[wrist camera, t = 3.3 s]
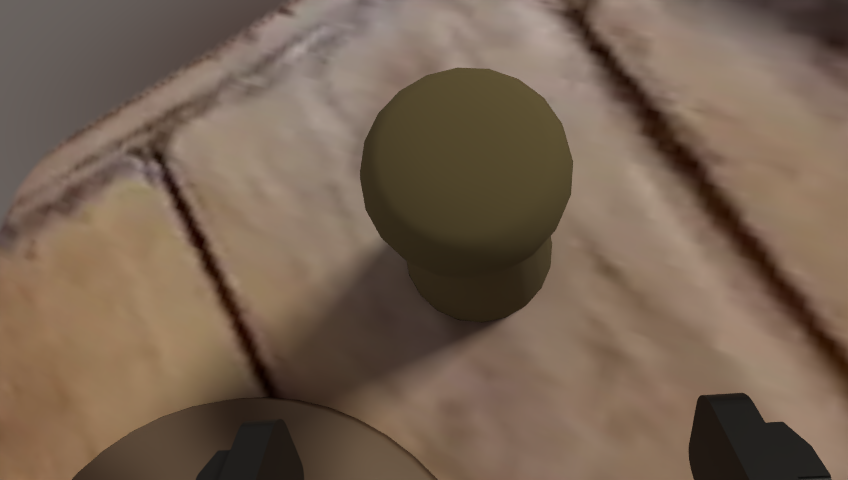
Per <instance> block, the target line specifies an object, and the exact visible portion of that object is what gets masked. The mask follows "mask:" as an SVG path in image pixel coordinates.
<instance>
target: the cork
mask: <svg viewBox="0 0 848 480" xmlns="http://www.w3.org/2000/svg"><path fill="white" fill-rule="evenodd" d="M572 170H573V160H572V156H571V153H570V149H569V146H568V142H567V139H566V135H565V132H564V128H563V126H562V123H561V122H560V120H559V119H558V117H557V116H556V114H555V113H554V112H553V110H552V109H551V107H550V106H549V104H548V103H547V102H546V100H545V99H544V98H543V97H542V96H541V95H539V94H538V93H537V92H535V91H534V90H533V89H531V88H530V87H529V86H527V85H526V84H524V83H523V82H522V81H520V80H519V79H517V78H514V77H511V76H508V75H505V74H502V73H499V72H496V71H493V70H490V69H476V68H454V69H450V70H446V71H442V72H438V73H434V74H430V75H427V76H425V77H423V78H421V79H420V80H418V81H416V82H414V83H413V84H411V85H409V86H408V87H406V88H404V89H402V90H401V91H399V92H398V93H397V94H396V95H395V96H394V98H393V99H392V100H391V101H390V102H389V103H388V104H387V105H386V106H385V107H384V108H383V109H382V110H381V111H380V112H379V113H378V115H377V117H376V119H375V121H374V123H373V125H372V127H371V129H370V131H369V133H368V135H367V137H366V139H365V142H364V149H363V156H362V162H361V169H360V180H361V186H362V191H363V197H364V203H365V208H366V211H367V213H368V215H369V216H370V218H371V220H372V222H373V224H374V225H375V227H376V229H377V231H378V233H379V234H380V236H381V238H382V239H383V240H384V241H385V242H386V243H388V244H389V245H390V246H391V247H392V248H393V249H394V250H395V251H396V252H398V253H399V254H400V255H401V256H402V257H403V258H404V259H405V260H406V261H407V265H408V270H409V275H410V277H411V279H412V280H413V282H414V284H415V286H416V288H417V289H418V291H419V293H420V295H421V296H422V297H424V298H425V299H426V300H427V301H428V302H429V303H430V304H431V305H432V306H433V307H434V308H436V309H437V310H438V311H440V312H443V313H445V314H447V315H449V316H451V317H454V318H456V319H458V320H465V321H475V322H486V321H491V320H495V319H500V318H505V317H507V316H509V315H510V314H512V313H514V312H516V311H517V310H519V309H521V308H522V307H524V306H526V305H527V304H528V302H529V301H530V300H531V299H532V298H533V297H534V296H535V295H536V293H537V292H538V291H539V290H540V289H541V288H542V285H543V283H544V280H545V278H546V276H547V273H548V271H549V269H550V264H551V249H552V241H551V235H552V234H553V232H554V231H555V230H556V228H557V226H558V224H559V221H560V219H561V217H562V214H563V212H564V210H565V207H566V205H567V202H568V200H569V198H570V195H571V186H572Z"/></svg>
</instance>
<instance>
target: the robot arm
mask: <svg viewBox="0 0 848 480" xmlns="http://www.w3.org/2000/svg"><path fill="white" fill-rule="evenodd" d="M689 461H690V466H691V471H692V474H693V478H694V480H831V475H830V474H829V472H828V470H827V469H826V467H825V466H824V464H823V463H822V461H821V460H820V458H819V457H818V455H817V454H816V452H815V451H814V449H813V447H812V446H811V445H810V444H808V443H807V442H806V441H805V440H804V439H803V438H801V437H800V436H799V435H798V434H797V433H795V432H794V431H793V430H792V429H791V428H790V427H788V426H787V425H786V424H785V423H784V422H770V423H765V421H764V420H763V418H762V416H761V415H760V413H759V411H758V410H757V408H756V406H755V405H754V403H753V401H752V400H751V399H750V397H749V396H747V395H746V394H744V393H732V394H716V395H701V396H699V398H698V400H697V405H696V410H695V415H694V421H693V426H692V432H691V437H690V442H689ZM196 480H304V470H303V465H302V462H301V460H300V457H299V455H298V452H297V450H296V447H295V445H294V443H293V440H292V438H291V435H290V433H289V430H288V428H287V425H286V423H285V422H284V420H282V419H271V420H254V421H245V422H243V423H242V424H241V426H240V428H239V430H238V432H237V434H236V437H235V439H234V442H233V444H232V447H231V449H230V450H219V451H217V452H216V453H215V455H214V456H213V457H212V458H211V459H210V460H209V462H208V463H207V464H206V465H205V466H204V468H203V469H202V470H201V471H200V472H199V474H198V475H197V477H196Z"/></svg>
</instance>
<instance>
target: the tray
mask: <svg viewBox="0 0 848 480" xmlns="http://www.w3.org/2000/svg"><path fill="white" fill-rule="evenodd" d="M271 419H282V420H284V422H285V423H286V425H287V428H288V430H289V433H290V435H291V438H292V440H293V443H294V445H295V447H296V450H297V452H298V455H299V457H300V460H301V462H302V465H303V470H304V480H438V479H437V478H436V477H435V476H433V475H432V474H431V473H430V472H429V471H428V470H427V469H426V468H425V467H424V466H423V465H422V464H421V463H420V462H419V461H418V460H417V459H416V458H415V457H414V456H413V455H412V454H410V453H409V452H408V451H407V450H405V449H404V448H403V447H401V446H400V445H399V444H397V443H396V442H395V441H393V440H392V439H391V438H390V437H388V436H387V435H385V434H383V433H382V432H380V431H378V430H376V429H375V428H373V427H371V426H369V425H368V424H366V423H364V422H362V421H360V420H359V419H356V418H354V417H351V416H349V415H346V414H344V413H341V412H339V411H336V410H334V409H331V408H329V407H324V406H320V405H316V404H312V403H308V402H304V401H300V400H291V399H281V398H270V397H263V398H242V399H232V400H225V401H220V402H214V403H209V404H204V405H199V406H193V407H190V408H187V409H184V410H181V411H178V412H175V413H172V414H169V415H166V416H163V417H161V418H159V419H157V420H155V421H153V422H150V423H148V424H146V425H144V426H142V427H140V428H138V429H136V430H134V431H132V432H131V433H129V434H128V435H126V436H125V437H123V438H122V439H120V440H119V441H117V442H116V443H114V444H113V445H111V446H110V447H108V448H107V449H105V450H104V451H103V452H101V453H100V454H99V455H98V456H97V457H96V458H95V459H93V460H92V461H91V462H90V463H89V464H88V465H86V466H85V467H84V468H83V469H82V470H81V471H79V472H78V473H77V474H76V475H75V477H74V478H73V479H72V480H196V477H197V475H198V474H199V472H200V471H201V470H202V469H203V468H204V466H205V465H206V464H207V463H208V462H209V460H210V459H211V458H212V457H213V456H214V455H215V453H216V452H217V451H219V450H230V449H231V447H232V444H233V442H234V439H235V437H236V434H237V432H238V430H239V428H240V426H241V424H242V423H243V422H245V421H254V420H271Z"/></svg>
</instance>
